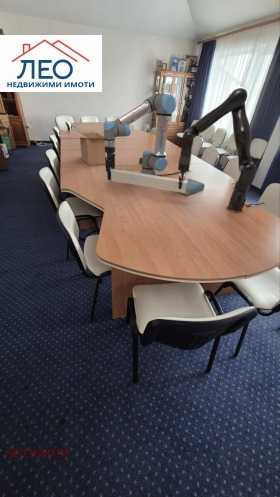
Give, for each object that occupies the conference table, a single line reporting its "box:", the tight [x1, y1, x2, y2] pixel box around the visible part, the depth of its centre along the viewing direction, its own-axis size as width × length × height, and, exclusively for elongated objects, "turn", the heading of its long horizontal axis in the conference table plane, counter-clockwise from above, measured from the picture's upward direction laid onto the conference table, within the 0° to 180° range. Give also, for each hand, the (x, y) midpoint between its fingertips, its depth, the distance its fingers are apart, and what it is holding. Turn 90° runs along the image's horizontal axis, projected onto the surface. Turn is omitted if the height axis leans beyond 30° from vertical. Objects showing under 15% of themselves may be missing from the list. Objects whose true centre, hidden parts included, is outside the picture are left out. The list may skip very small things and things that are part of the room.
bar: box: [103, 168, 188, 194], centre depth 164 cm, size 63×5×8 cm, turn 72°
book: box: [178, 178, 205, 196], centre depth 185 cm, size 23×16×5 cm
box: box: [70, 129, 106, 166], centre depth 229 cm, size 44×36×27 cm
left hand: (110, 178), depth 172 cm, fingers closed on bar, 5 cm apart
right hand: (180, 187), depth 159 cm, fingers closed on bar, 5 cm apart
